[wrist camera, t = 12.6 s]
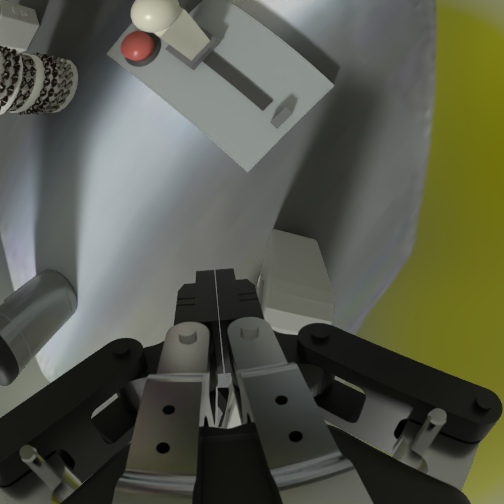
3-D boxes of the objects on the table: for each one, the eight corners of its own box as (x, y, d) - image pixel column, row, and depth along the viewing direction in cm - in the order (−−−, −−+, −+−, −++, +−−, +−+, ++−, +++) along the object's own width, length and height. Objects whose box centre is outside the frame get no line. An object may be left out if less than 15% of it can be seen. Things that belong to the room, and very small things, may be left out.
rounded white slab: (255, 218, 39) (238, 286, 22) (315, 233, 39) (340, 310, 22) (216, 380, 49) (194, 468, 33) (260, 389, 49) (251, 479, 33)
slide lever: (169, 51, 29) (109, 14, 16) (195, 24, 27) (149, -28, 14) (193, 70, 30) (142, 37, 17) (220, 42, 28) (185, -8, 15)
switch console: (115, 57, 32) (100, 52, 28) (186, -20, 27) (177, -32, 24) (249, 170, 36) (246, 174, 33) (331, 88, 32) (337, 83, 28)
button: (126, 63, 30) (119, 60, 28) (129, 37, 28) (122, 33, 26) (154, 59, 29) (147, 56, 28) (156, 33, 28) (150, 28, 26)
